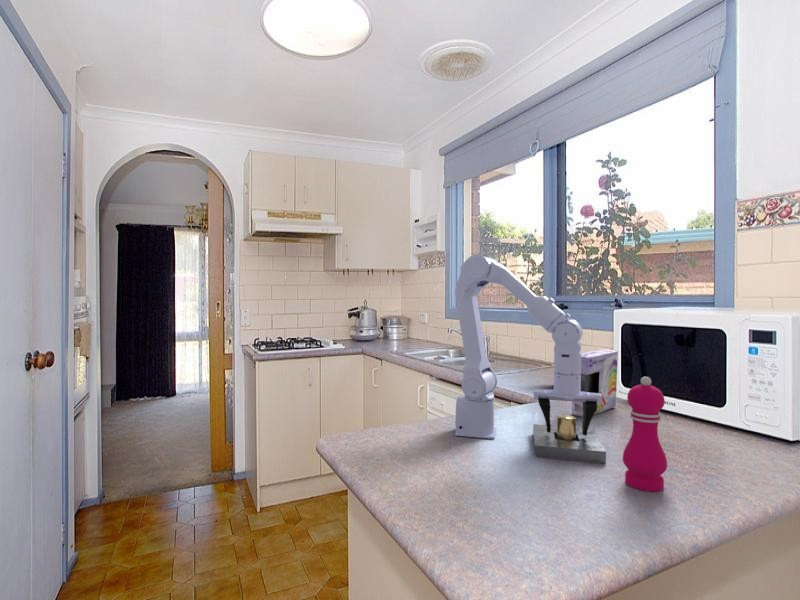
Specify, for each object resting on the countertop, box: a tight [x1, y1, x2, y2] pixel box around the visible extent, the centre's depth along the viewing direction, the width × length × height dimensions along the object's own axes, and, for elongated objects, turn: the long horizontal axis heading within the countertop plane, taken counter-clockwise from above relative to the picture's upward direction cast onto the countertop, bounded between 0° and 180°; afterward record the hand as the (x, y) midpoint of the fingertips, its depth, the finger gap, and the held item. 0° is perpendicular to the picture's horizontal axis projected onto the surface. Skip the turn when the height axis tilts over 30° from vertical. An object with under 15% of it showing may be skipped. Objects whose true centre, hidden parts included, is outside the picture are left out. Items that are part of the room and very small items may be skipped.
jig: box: [532, 423, 607, 465], centre depth 103 cm, size 14×16×2 cm
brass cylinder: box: [556, 414, 577, 441], centre depth 103 cm, size 4×4×7 cm
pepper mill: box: [622, 376, 668, 492], centre depth 84 cm, size 7×7×20 cm
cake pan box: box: [571, 348, 619, 418], centre depth 134 cm, size 19×5×18 cm, turn 129°
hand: (566, 432), depth 103 cm, fingers open, 7 cm apart
